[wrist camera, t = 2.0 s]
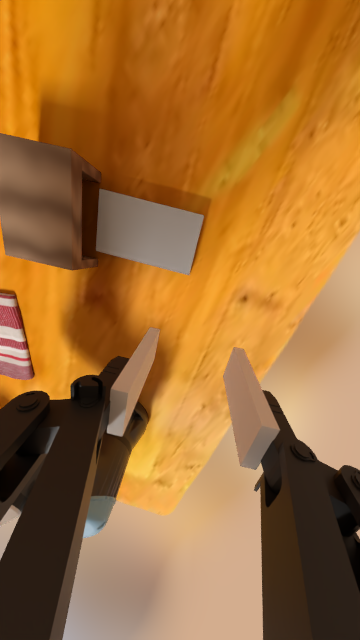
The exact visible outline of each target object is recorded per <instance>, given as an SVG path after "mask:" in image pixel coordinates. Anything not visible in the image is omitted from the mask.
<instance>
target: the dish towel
mask: <svg viewBox="0 0 360 640" xmlns="http://www.w3.org/2000/svg"><path fill="white" fill-rule="evenodd" d="M0 374H1V375H5V376H8V377H11V378H15V379H22V380H28V379H32V378H33V377H34V376H33V375H34V374H33V371H32V366H31V361H30V355H29V350H28V346H27V341H26V338H25V335H24V331H23V324H22V319H21V315H20V311H19V307H18V305H17V300H16V295H11V294H5V293H0Z"/></svg>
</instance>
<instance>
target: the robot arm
mask: <svg viewBox="0 0 360 640" xmlns="http://www.w3.org/2000/svg"><path fill="white" fill-rule="evenodd" d="M159 332H160V329H156V328H152V327H150V328H149V330H148V331H147V333H146V335H145V336H144V338H143V339H142V341H141V342H140V344H139V345H138V347H137V349H136V350H135V352H134V353H133V355H132V356H131V358H130V359H128V358H124V357H120V356H118V357H116V358H114V359H112V360H111V361H110V362H109V363H108V365H107V367H105V368H104V370H103V372H101V373H100V375H99V376H97V375H86V376H82V377H80V378H78V379H76V380H75V381H74V382H73V383H72V384H71V399H63V400H50V398H49V396H48V394H47V393H45V392H43V391H30V392H26V393H23V394H21V395H18V396H17V397H15V398H14V399H12V400H11V401H10V402H9V403H8V404H6V405H5V406H4V407H3V408H2V409H0V527H1V526H2V525H3V524H5V523H7V522H9V521H12V520H13V519H15V518H18V517H19V519H18V522H17V524H16V526H15V528H14V531H13V533H12V535H11V538H10V540H9V542H8V544H7V547H6V549H5V552H4V553H3V556H2V558H1V560H0V640H62V638H63V633H64V628H65V623H66V618H67V613H68V608H69V603H70V598H71V593H72V588H73V583H74V579H75V574H76V569H77V564H78V558H79V554H80V549H81V543H82V539H83V538H86V537H91V536H93V535H96V534H97V533H99V532H100V531H101V530H102V529H103V528H104V526H105V525H106V523H107V521H108V518H109V516H110V513H111V510H112V508H113V506H114V504H115V502H116V497H117V494H118V491H119V488H120V485H121V482H122V478H123V475H124V472H125V469H126V466H127V463H128V460H129V457H130V454H131V451H132V449H133V448H134V446H135V445H136V444H137V442H138V441H139V439H140V438H141V437H142V435H143V434H144V432H145V430H146V426H147V423H148V415H147V412H146V410H145V409H144V408H143V406H142V405H141V404H140V403H138V402H137V400H138V398H139V395H140V393H141V391H142V388H143V386H144V383H145V381H146V378H147V376H148V374H149V371H150V369H151V366H152V364H153V362H154V359H155V354H156V348H157V343H158V337H159ZM223 378H224V383H225V388H226V394H227V399H228V404H229V409H230V415H231V420H232V425H233V431H234V436H235V441H236V446H237V451H238V457H239V462H240V466H243V467H247V468H251V469H255V470H256V469H257V467H258V466H259V464H260V463H261V464H262V467H263V471H264V472H263V474H262V475H261V477H260V479H259V480H258V482H257V483H256V485H255V489H254V490H255V491H257V490H258V489H259V487H260V489H261V540H262V541H261V543H262V597H263V640H360V539H359V537H358V535H357V533H356V532H357V531H358V530H359V529H360V471H359V470H358V469H356V468H354V467H351V466H348V465H344V466H342V467H341V468H340V470H339V471H338V470H336V469H334V468H332V467H330V466H328V465H326V464H324V463H322V462H320V461H319V460H317V457H316V456H315V454H314V453H313V451H312V450H311V449H310V448H309V447H308V446H307V445H306V444H305V443H303V442H302V441H300V440H298V439H297V438H296V436H295V434H294V432H293V430H292V429H291V427H290V425H289V423H288V421H287V419H286V417H285V415H284V414H283V411H282V409H281V408H280V405H279V403H278V402H277V400H276V398H275V397H274V396H273V395H272V394H271V393H270V392H269V391H264V390H262V389H261V387H260V384H259V382H258V380H257V378H256V375H255V373H254V371H253V369H252V366H251V364H250V362H249V360H248V358H247V355H246V353H245V351H244V349H240V348H236V347H234V348H233V351H232V353H231V356H230V359H229V361H228V364H227V367H226V369H225V372H224V375H223Z"/></svg>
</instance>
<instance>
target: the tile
mask: <svg viewBox="0 0 360 640" xmlns="http://www.w3.org/2000/svg"><path fill="white" fill-rule="evenodd" d="M203 219H204V215H201V214H197V213H193V212H189V211H185V210H181V209H177V208H174V207H170V206H166V205H162V204H158V203H154V202H150V201H146V200H143V199H139V198H135V197H131V196H127V195H123V194H119V193H115V192H112V191H108V190H104V189H100V188H99V205H98V222H97V239H96V251H98V252H102V253H106V254H110V255H113V256H117V257H121V258H125V259H129V260H133V261H136V262H140V263H144V264H148V265H152V266H156V267H159V268H163V269H167V270H171V271H175V272H179V273H183V274H186V275H189V274H190V270H191V267H192V263H193V259H194V255H195V251H196V247H197V243H198V239H199V235H200V231H201V227H202V223H203Z"/></svg>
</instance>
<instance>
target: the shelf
mask: <svg viewBox="0 0 360 640" xmlns="http://www.w3.org/2000/svg"><path fill="white" fill-rule="evenodd" d="M82 179H85V180H89V181H94V182H98V183H101V172H99V171H98V170H97V169H96V168H94V167H93V166H92V165H91V164H89V163H88V162H87V161H85V160H84V159H83V158H82V157H80V156H79V155H78V154H77V153H75V152H74V151H73V150H72V149H69V148H65V147H60V146H56V145H51V144H47V143H42V142H38V141H33V140H29V139H24V138H20V137H15V136H11V135H6V134H1V133H0V219H1V226H2V234H3V241H4V248H5V255H8V256H13V257H17V258H21V259H26V260H30V261H34V262H38V263H43V264H47V265H51V266H56V267H60V268H64V269H68V270H78V269H84V268H91V267H97V266H98V259H96V258H92V257H87V256H83V255H81V251H82Z"/></svg>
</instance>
